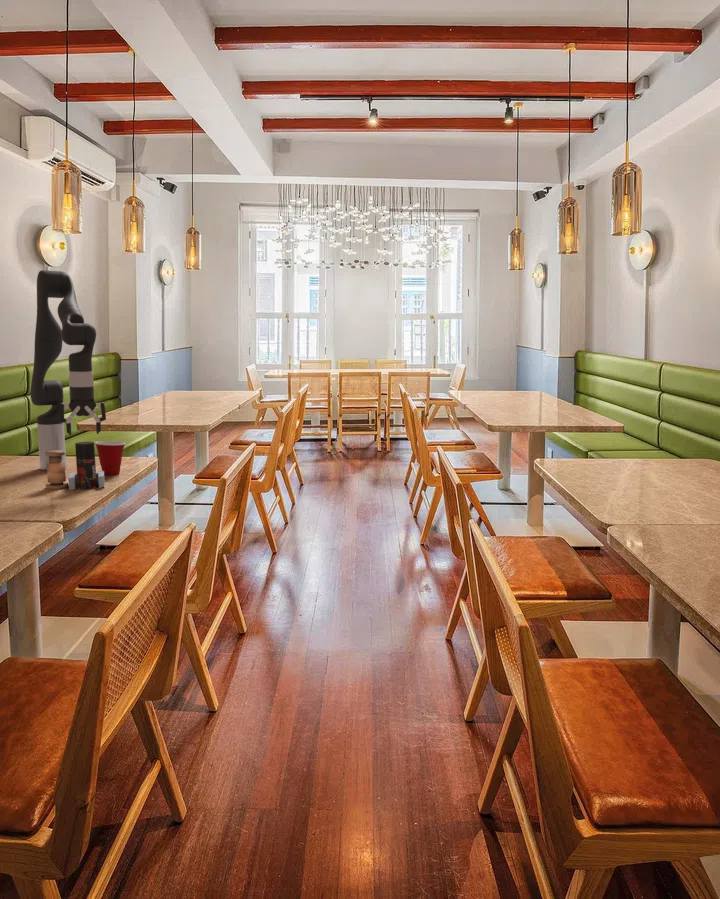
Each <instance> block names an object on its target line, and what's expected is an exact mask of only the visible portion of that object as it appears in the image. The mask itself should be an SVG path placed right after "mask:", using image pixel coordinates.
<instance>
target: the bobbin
mask: <svg viewBox="0 0 720 899" xmlns="http://www.w3.org/2000/svg"><path fill="white" fill-rule="evenodd" d="M65 452H66V450H65V451H61V450H56V451H47V452H45V456H49V462H47V470H46V473H47V483H46V484H45V489H46V488H47V489H46V490H53V489H54V490H62V489H61V488H64V489H66V488H65V487H67V488H69V482H66V479H67V477H66V468H65V462H64V461H62V455H65Z"/></svg>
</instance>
